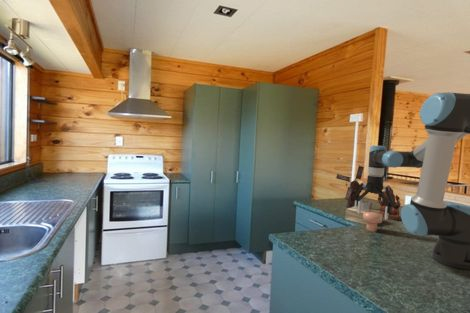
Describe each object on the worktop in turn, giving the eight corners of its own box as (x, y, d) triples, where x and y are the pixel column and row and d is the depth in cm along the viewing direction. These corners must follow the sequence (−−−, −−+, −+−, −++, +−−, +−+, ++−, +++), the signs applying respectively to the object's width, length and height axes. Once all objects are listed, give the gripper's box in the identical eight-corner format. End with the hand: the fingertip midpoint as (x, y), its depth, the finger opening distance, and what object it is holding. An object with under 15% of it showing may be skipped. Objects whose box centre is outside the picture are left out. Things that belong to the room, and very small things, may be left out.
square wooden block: (369, 225, 158) (370, 214, 158) (345, 219, 168) (345, 209, 168) (379, 220, 168) (379, 210, 167) (355, 215, 178) (356, 205, 177)
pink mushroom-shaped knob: (377, 234, 143) (378, 216, 143) (359, 229, 150) (360, 212, 149) (383, 230, 149) (385, 213, 149) (366, 226, 156) (367, 210, 155)
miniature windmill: (332, 207, 197) (335, 164, 195) (335, 204, 207) (338, 163, 204) (372, 213, 185) (375, 167, 183) (373, 209, 195) (376, 165, 193)
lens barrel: (367, 212, 161) (367, 203, 161) (352, 209, 167) (353, 201, 167) (373, 210, 167) (373, 202, 167) (358, 207, 173) (359, 199, 173)
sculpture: (406, 220, 170) (409, 187, 169) (396, 221, 167) (399, 187, 166) (382, 213, 186) (385, 182, 184) (373, 214, 183) (375, 183, 181)
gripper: (404, 178, 141) (400, 220, 143) (354, 171, 159) (351, 209, 161) (400, 179, 136) (396, 223, 138) (348, 172, 154) (345, 211, 156)
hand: (372, 215), depth 149 cm, fingers open, 13 cm apart
